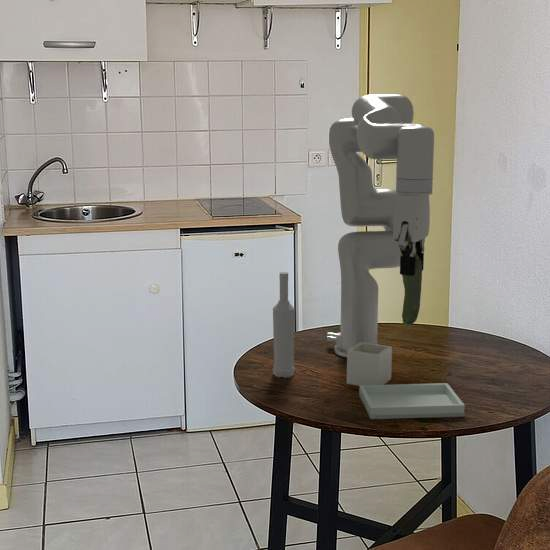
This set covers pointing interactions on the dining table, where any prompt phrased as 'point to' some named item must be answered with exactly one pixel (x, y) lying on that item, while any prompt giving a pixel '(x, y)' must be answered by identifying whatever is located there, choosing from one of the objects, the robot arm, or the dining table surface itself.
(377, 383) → the grey square open box
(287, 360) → the bottle
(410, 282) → the vegetable
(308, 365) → the dining table surface
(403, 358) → the dining table surface
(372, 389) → the tray
